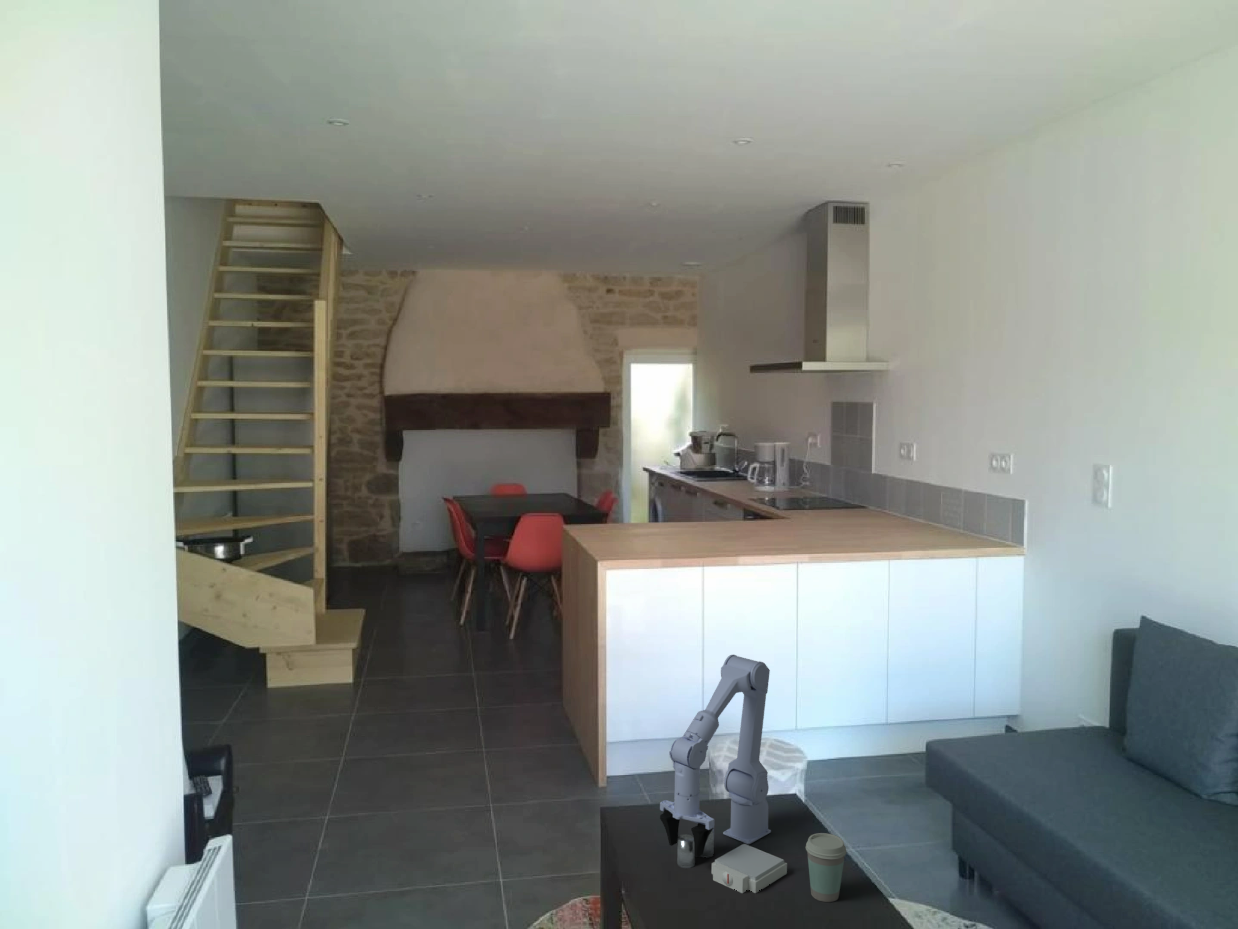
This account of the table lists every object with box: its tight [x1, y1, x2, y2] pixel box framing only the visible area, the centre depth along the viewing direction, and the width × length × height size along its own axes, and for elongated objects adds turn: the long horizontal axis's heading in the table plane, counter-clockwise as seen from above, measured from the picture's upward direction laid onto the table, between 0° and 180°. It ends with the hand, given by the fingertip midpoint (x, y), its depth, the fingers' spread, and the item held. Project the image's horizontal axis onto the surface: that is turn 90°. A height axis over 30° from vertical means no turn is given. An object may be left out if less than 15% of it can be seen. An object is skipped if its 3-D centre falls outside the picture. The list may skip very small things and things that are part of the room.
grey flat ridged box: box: [711, 843, 788, 894], centre depth 208 cm, size 14×12×3 cm
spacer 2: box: [699, 827, 715, 859], centre depth 218 cm, size 4×4×6 cm
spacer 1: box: [676, 834, 696, 869], centre depth 213 cm, size 4×4×6 cm
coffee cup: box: [805, 832, 847, 903], centre depth 200 cm, size 8×9×12 cm
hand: (685, 849), depth 213 cm, fingers open, 7 cm apart
